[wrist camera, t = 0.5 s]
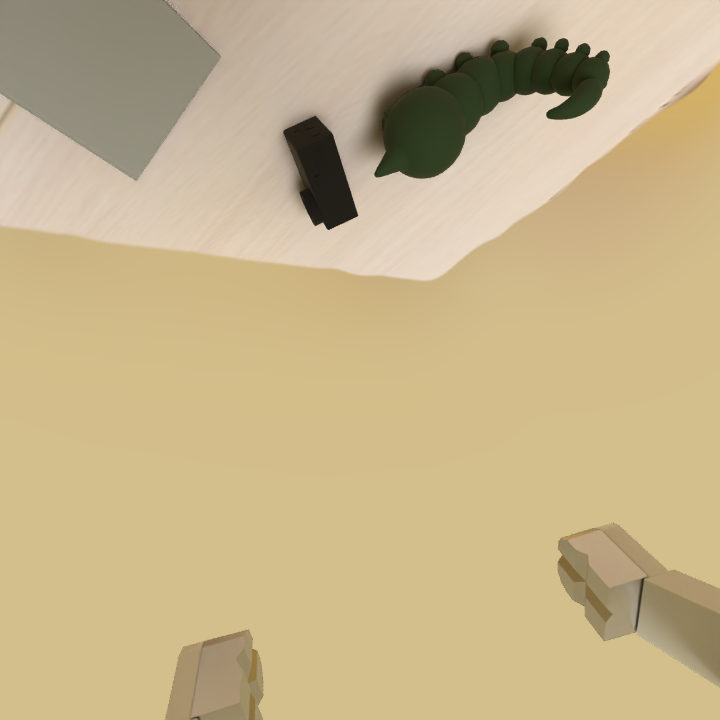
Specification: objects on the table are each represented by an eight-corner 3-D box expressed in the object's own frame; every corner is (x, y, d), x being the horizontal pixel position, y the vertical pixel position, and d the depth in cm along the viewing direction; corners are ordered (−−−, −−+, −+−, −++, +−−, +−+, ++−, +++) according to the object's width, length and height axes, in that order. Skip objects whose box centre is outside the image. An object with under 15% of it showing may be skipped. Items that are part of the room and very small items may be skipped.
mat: (-80, 39, 35) (-82, 40, 35) (4, -158, 30) (2, -159, 30) (136, 179, 47) (136, 180, 47) (220, 56, 42) (220, 57, 42)
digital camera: (273, 134, 49) (286, 154, 45) (314, 114, 49) (332, 133, 45) (305, 210, 57) (319, 235, 52) (341, 193, 57) (358, 216, 53)
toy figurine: (505, 4, 50) (330, 117, 49) (643, 17, 37) (411, 169, 37) (512, 86, 57) (359, 186, 57) (629, 121, 45) (434, 249, 44)
